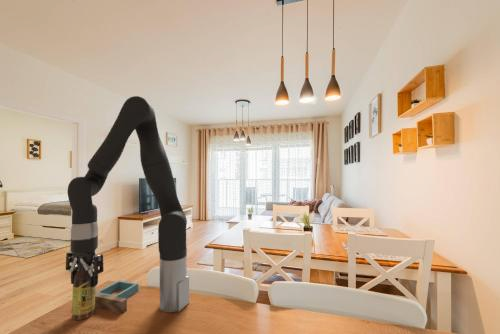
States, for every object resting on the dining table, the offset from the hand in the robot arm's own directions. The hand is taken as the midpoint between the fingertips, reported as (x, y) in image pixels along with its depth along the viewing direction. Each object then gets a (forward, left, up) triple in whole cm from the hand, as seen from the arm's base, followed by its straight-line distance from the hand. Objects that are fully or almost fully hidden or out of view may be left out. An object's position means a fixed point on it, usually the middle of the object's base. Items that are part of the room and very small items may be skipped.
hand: (84, 284), depth 78 cm
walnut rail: (-2, -6, -10) cm, 12 cm away
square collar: (0, -13, -10) cm, 16 cm away
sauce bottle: (0, 0, -10) cm, 10 cm away
